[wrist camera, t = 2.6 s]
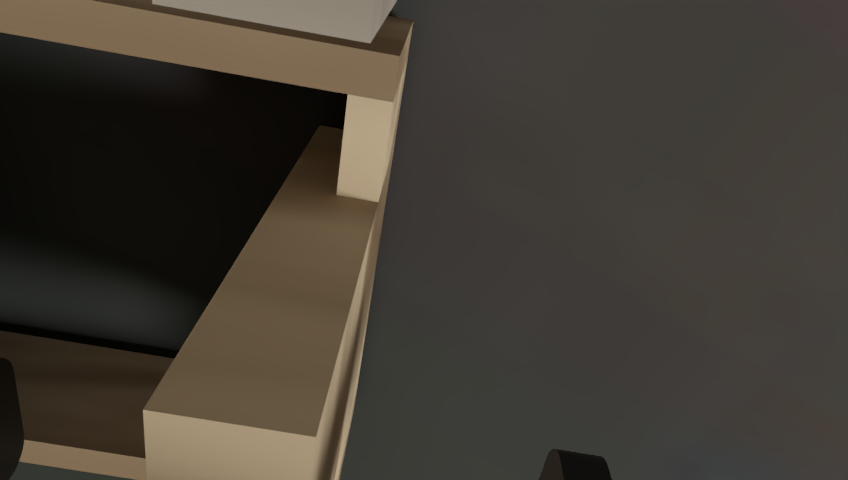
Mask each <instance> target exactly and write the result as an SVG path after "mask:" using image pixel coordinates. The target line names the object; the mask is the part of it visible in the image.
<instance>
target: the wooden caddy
mask: <svg viewBox="0 0 848 480" xmlns="http://www.w3.org/2000/svg"><path fill="white" fill-rule="evenodd" d="M412 27H413V20H409V19H403V18H398V17H392V16H387V17H386V19H385V21H384V22H383V24H382V25H381V27H380V29H379V30H378V32H377V33H376V35H375V37H374V38H373V40H372V42H371V43H365V42H359V41H354V40H348V39H343V38H337V37H332V36H326V35H321V34H315V33H310V32H304V31H299V30H293V29H288V28H282V27H277V26H271V25H266V24H260V23H255V22H249V21H244V20H238V19H233V18H227V17H222V16H216V15H211V14H205V13H200V12H194V11H189V10H183V9H178V8H172V7H167V6H161V5H156V4H152V0H0V32H2V33H7V34H13V35H19V36H24V37H30V38H35V39H41V40H47V41H52V42H58V43H63V44H69V45H75V46H80V47H86V48H91V49H97V50H103V51H108V52H114V53H119V54H125V55H130V56H136V57H142V58H147V59H153V60H158V61H164V62H170V63H175V64H181V65H186V66H192V67H198V68H203V69H209V70H214V71H220V72H226V73H231V74H237V75H242V76H248V77H254V78H259V79H265V80H270V81H276V82H282V83H287V84H293V85H298V86H304V87H310V88H315V89H321V90H326V91H332V92H337V93H343V94H348V95H347V104H346V113H345V122H344V129H339V128H333V127H327V126H322V125H319V127H318V128H317V130H316V132H315V133H314V135H313V137H312V138H311V140H310V141H309V143H308V145H307V146H306V148H305V149H304V151H303V153H302V154H301V156H300V157H299V159H298V161H297V162H296V164H295V166H294V167H293V169H292V170H291V172H290V174H289V175H288V177H287V178H286V180H285V182H284V183H283V185H282V186H281V188H280V190H279V191H278V193H277V195H276V196H275V198H274V199H273V201H272V203H271V204H270V206H269V207H268V209H267V211H266V212H265V214H264V215H263V217H262V219H261V220H260V222H259V224H258V225H257V227H256V228H255V230H254V232H253V233H252V235H251V236H250V238H249V240H248V241H247V243H246V244H245V246H244V248H243V249H242V251H241V252H240V254H239V256H238V257H237V259H236V261H235V262H234V264H233V265H232V267H231V269H230V270H229V272H228V273H227V275H226V277H225V278H224V280H223V281H222V283H221V285H220V286H219V288H218V290H217V291H216V293H215V294H214V296H213V298H212V299H211V301H210V302H209V304H208V306H207V307H206V309H205V310H204V312H203V314H202V315H201V317H200V319H199V320H198V322H197V323H196V325H195V327H194V328H193V330H192V331H191V333H190V335H189V336H188V338H187V339H186V341H185V343H184V344H183V346H182V348H181V349H180V351H179V352H178V354H177V356H176V357H175V359H174V358H168V357H161V356H155V355H149V354H143V353H137V352H130V351H124V350H118V349H112V348H106V347H100V346H93V345H87V344H81V343H75V342H69V341H62V340H56V339H50V338H44V337H38V336H32V335H25V334H19V333H13V332H7V331H1V330H0V357H1V358H6V359H7V360H9V361H10V362H11V364H12V366H13V369H14V374H15V380H16V387H17V393H18V399H19V405H20V412H21V418H22V424H23V430H24V445H23V450H22V454H21V457H20V460H19V461H20V462H26V463H33V464H39V465H46V466H52V467H59V468H65V469H72V470H78V471H84V472H91V473H97V474H104V475H110V476H117V477H123V478H130V479H136V480H339V479H340V474H341V469H342V464H343V459H344V454H345V450H346V445H347V440H348V435H349V430H350V425H351V420H352V416H353V411H354V405H355V399H356V392H357V386H358V379H359V373H360V366H361V359H362V353H363V346H364V340H365V333H366V327H367V320H368V314H369V307H370V301H371V294H372V288H373V281H374V275H375V268H376V262H377V255H378V249H379V242H380V236H381V229H382V223H383V216H384V210H385V203H386V196H387V190H388V183H389V177H390V170H391V164H392V157H393V151H394V144H395V138H396V131H397V125H398V118H399V112H400V105H401V99H402V92H403V86H404V79H405V73H406V66H407V60H408V53H409V47H410V40H411V34H412Z"/></svg>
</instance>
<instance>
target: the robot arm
mask: <svg viewBox="0 0 848 480" xmlns="http://www.w3.org/2000/svg"><path fill="white" fill-rule="evenodd" d="M23 445H24V430H23V424H22V418H21V412H20V405H19V399H18V393H17V387H16V380H15V374H14V369H13V366H12V364H11V362H10V361H9V360H7V359H6V358H1V357H0V480H9V479H10V477H11V476H12V474H13V473H14V471H15V469H16V467H17V465H18V462H19V460H20V457H21V454H22V450H23ZM539 480H612V479H611V476H610V472H609V468H608V465H607V463H606V461H605V459H604V458H603V457H601V456H595V455H589V454H582V453H576V452H570V451H564V450H558V449H552V450H551V451H550V452H549V454H548V456H547V459H546V461H545V464H544V467H543V470H542V473H541V476H540V478H539Z"/></svg>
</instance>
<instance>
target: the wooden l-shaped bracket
mask: <svg viewBox="0 0 848 480" xmlns="http://www.w3.org/2000/svg"><path fill="white" fill-rule="evenodd" d="M396 1H397V0H152V4H156V5H161V6H167V7H172V8H178V9H183V10H189V11H194V12H200V13H205V14H211V15H216V16H222V17H227V18H233V19H238V20H244V21H249V22H255V23H260V24H266V25H271V26H277V27H282V28H288V29H293V30H299V31H304V32H310V33H315V34H321V35H326V36H332V37H337V38H343V39H348V40H354V41H359V42H365V43H371V42H372V40H373V38H374V37H375V35H376V33H377V32H378V30H379V29H380V27H381V25H382V24H383V22H384V21H385V19H386V17H387V16H388V14H389V13H390V11H391V9H392V8H393V6H394V4H395V3H396Z"/></svg>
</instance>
